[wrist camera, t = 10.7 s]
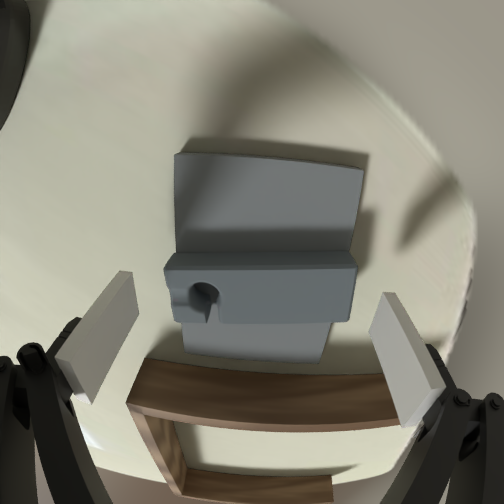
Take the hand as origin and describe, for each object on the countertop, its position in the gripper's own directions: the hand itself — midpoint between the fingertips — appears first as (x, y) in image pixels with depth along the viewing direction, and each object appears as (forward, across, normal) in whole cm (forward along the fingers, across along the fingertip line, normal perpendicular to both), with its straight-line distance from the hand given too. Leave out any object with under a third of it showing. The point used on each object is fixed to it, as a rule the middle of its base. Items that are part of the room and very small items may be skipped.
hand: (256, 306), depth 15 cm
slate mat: (+4, 0, 0) cm, 4 cm away
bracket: (+3, 0, 0) cm, 3 cm away
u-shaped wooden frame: (+4, +3, -23) cm, 24 cm away
